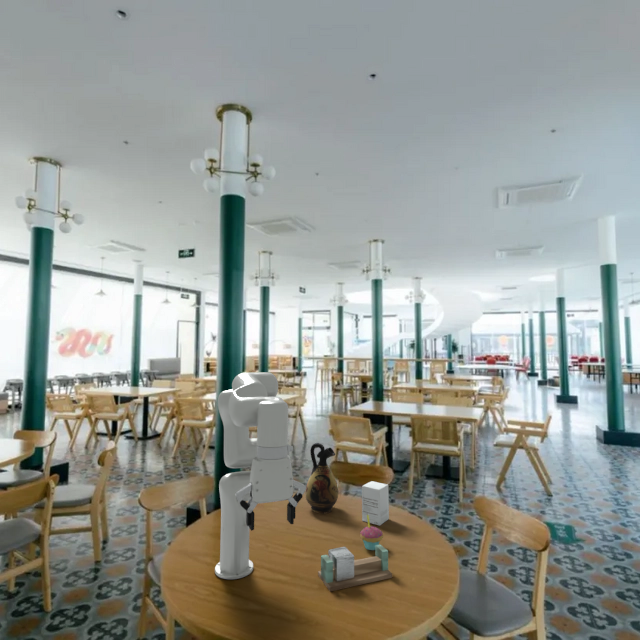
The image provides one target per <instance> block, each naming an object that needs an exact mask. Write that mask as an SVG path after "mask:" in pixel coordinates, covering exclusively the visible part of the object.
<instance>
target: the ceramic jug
mask: <svg viewBox="0 0 640 640" xmlns="http://www.w3.org/2000/svg"><path fill="white" fill-rule="evenodd" d="M317 448H319V449H320V451H318V453H317V454H316V455H315V449H317ZM309 451H310V458H311V462H312V470H311V474H310V476H309V478H308V481H307V483H306V485H305V486H306V489H305V492H304V493H305V500H306V502H307V503H308V504H309V506H310V510H311V511H312V512H313V513H315V514H316V513H317V514H320V515H322V514H329V513H331V512H332V508H333V507H334V506H335V504H336V503H337V502H338V499H339V487H338V483H337V480H336V477H335V475H334V473H333V472H332V470H331V469H330V467H329V465H328V463H327V459H328V458H332V457H334V456H336V453H335V451H334V450H333V448H332V447H326V448H325V446H324V445H323V444H322V443H319V442H316V443H315V442H314V443H313V444H312V445H311V447H310V450H309ZM316 458H319V461H318V463H317V460H316ZM302 508H303V507H302Z"/></svg>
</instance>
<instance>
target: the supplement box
mask: <svg viewBox="0 0 640 640" xmlns="http://www.w3.org/2000/svg"><path fill="white" fill-rule="evenodd" d="M389 499H390V497H389V484H388V483H387V484H386V483H382V482H377V481H372V480H371V481H369V482H367V483H365V484H363V485H362V486H361V516H362V517H361V521H362V522H366V523H368V520H367V513H368V515H369V523H370V524H373V525H377V526H382V525H383V524H384V523H385V522H387V521H388V520H389V519H390V507H389V506H390V505H389V503H390V502H389Z"/></svg>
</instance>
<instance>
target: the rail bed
mask: <svg viewBox="0 0 640 640" xmlns="http://www.w3.org/2000/svg"><path fill="white" fill-rule="evenodd" d="M374 551H375V556H369V557H365V558H360V559H354V578H352V579H347V580H342V581H338V582H337V581H336V580H335V568H334V567H333V561H332V560H331V559H330V558H329V557H328V554H323V555H321V556H320V570H318V571H317V575H318V577H319V579H320V580H321V581H322V582H323V584H324V585H325V587H326V588H327V589H328V591H329V592H334V591H339V590H342V589H346V588H347V589H348V588H351V587H358V586H361V585H364V584H369V583H373V582H378V581H379V582H380V581H382V580H387V579H392V578H393V573H392V572H391V571H390V570H389V550H388V549H387V548H386V547H384V546H383V545H382V544H380V543H379V545H375V550H374Z"/></svg>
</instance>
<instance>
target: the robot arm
mask: <svg viewBox="0 0 640 640" xmlns="http://www.w3.org/2000/svg"><path fill="white" fill-rule="evenodd" d="M231 387H232V388H231V389H228V390H223V391H221V392H220V393H219V395H218V398H217V409H218V412H219V415H220V419H221V421H222V425H223V461H224V464H225V466H226V467H227V468H229V469H242V468H250V470H248V471H247V470H242V471H235V472H229V473H226V474H225V475H223V476H222V477H221V478H220V480H219V484H218V488H219V489H218V490H219V491H218V492H219V498H220V499H219V501H220V545H219V546H220V548H219V549H220V550H219V553H220V555H219V562H218V563H216V565H215V567H214V573H215V575H216V576H217V577H218V578H220V579H224V580H237V579H242V578H244V577H247V576H248V575H250V574H251V573H252V572H253V570H254V563H253V561H252V560H250V532H251V531H254V530H255V512H254V510H255V508H256V507H257V506H258V504H265V503H267V504H268V503H275V502H282V501H288V503H287V505H286V520H287V522H288V523H289V524H290V525H294V523H295V522H294V520H295V519H296V507H297V506H298V504H299V502H300V501H301V500H302V499H303V495H304V493H306V485H305V484H303V483H302V482H299V481H298V480H295V479H294V477H293V467H292V461H291V457H290V455H289V454H290V453H291V452H294V445H290V444H289V404H288V403H287V402H286V401H284V399H283V398H281V397H279V396H277V395H278V392H279V382H278V378H277V377H276V376H275V375H274V374H273V373H271V372H270V371H269V372H267V371H266V372H263V371H262V372H259V371H257V372H255V371H254V372H242V373H239V374H237V375H236V376H235V377H234V379H233V380H232V383H231ZM253 427H257V428H256V437H252V438H250V429H249V428H253ZM294 487H295V488H297V492H296V493H295V494H294Z"/></svg>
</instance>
